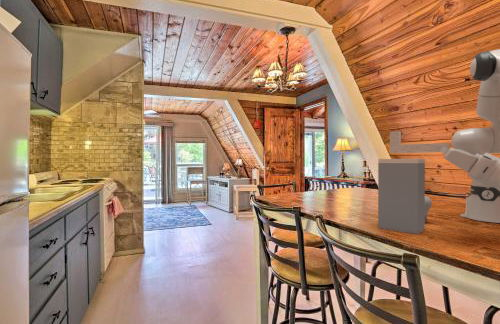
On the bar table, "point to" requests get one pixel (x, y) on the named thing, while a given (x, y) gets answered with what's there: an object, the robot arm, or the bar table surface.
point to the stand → (401, 195)
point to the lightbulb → (427, 206)
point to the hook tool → (411, 145)
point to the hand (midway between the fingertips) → (437, 146)
